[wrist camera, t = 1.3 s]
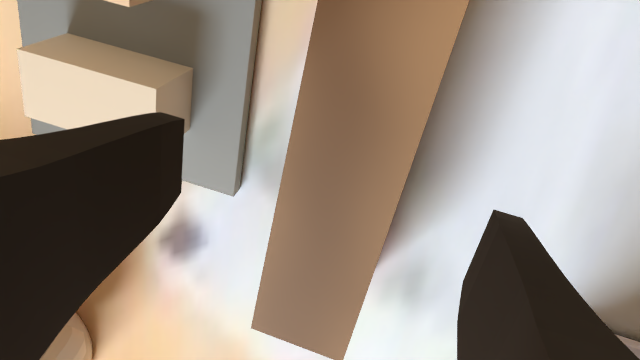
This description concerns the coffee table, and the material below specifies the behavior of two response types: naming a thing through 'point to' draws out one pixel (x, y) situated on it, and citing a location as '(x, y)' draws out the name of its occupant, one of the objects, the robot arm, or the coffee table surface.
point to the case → (349, 161)
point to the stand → (145, 72)
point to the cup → (71, 342)
